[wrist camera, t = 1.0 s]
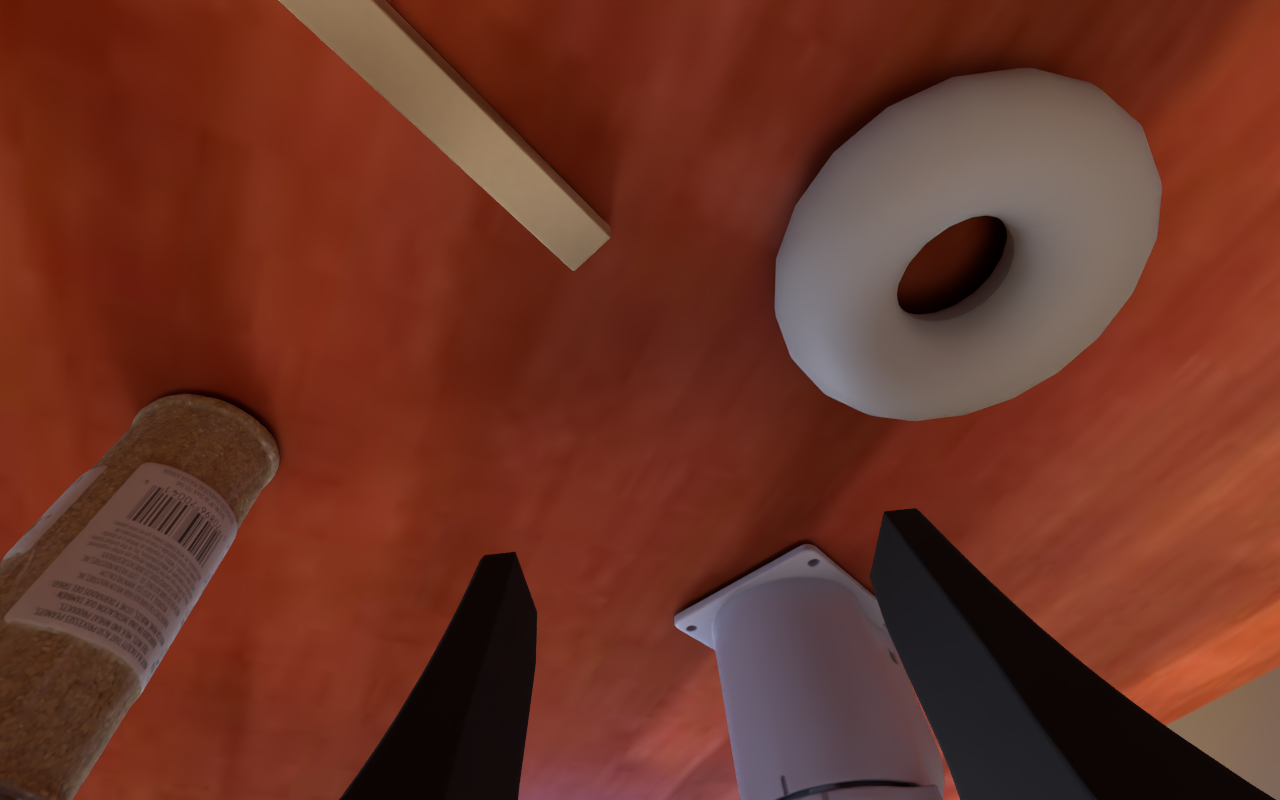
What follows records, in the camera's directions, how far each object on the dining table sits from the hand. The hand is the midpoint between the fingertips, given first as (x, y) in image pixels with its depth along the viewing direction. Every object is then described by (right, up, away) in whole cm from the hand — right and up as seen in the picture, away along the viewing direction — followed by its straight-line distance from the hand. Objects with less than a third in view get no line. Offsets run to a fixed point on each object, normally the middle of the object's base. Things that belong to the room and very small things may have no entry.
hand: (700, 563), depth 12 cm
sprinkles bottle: (-16, +2, +9) cm, 19 cm away
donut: (+7, +8, +6) cm, 13 cm away
